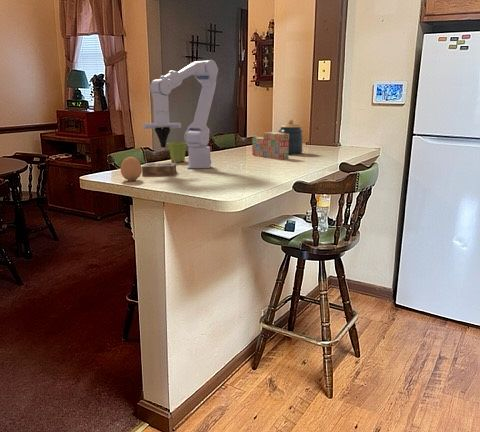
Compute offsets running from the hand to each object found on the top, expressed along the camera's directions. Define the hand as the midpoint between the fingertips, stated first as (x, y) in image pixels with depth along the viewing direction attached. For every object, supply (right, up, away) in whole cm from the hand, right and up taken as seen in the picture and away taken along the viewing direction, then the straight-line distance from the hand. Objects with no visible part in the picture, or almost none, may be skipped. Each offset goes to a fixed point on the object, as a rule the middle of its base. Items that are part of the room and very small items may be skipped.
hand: (163, 147), depth 185 cm
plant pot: (+1, -2, +35) cm, 35 cm away
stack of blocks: (+45, +2, +51) cm, 68 cm away
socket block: (-1, -10, 0) cm, 10 cm away
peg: (+1, -10, 0) cm, 10 cm away
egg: (-9, -14, -16) cm, 23 cm away
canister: (+57, +6, +66) cm, 88 cm away
